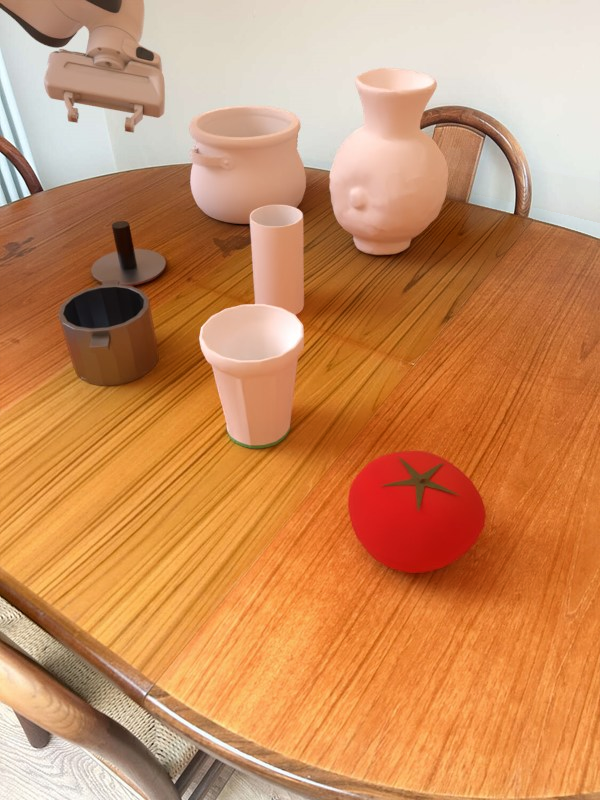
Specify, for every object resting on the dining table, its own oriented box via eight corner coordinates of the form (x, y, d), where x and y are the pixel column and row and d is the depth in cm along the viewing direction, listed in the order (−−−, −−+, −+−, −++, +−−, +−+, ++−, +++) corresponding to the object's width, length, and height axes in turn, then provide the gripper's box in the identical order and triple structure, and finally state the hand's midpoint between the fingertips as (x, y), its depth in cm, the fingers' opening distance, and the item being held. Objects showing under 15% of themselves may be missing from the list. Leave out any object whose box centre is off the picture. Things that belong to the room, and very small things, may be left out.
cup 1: (274, 288, 115) (271, 200, 105) (313, 302, 111) (313, 212, 101) (245, 308, 110) (238, 218, 100) (284, 324, 106) (281, 232, 96)
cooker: (66, 401, 92) (49, 346, 85) (82, 331, 105) (68, 278, 99) (156, 393, 93) (145, 338, 87) (160, 324, 106) (151, 272, 100)
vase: (412, 279, 117) (433, 101, 97) (309, 251, 125) (309, 82, 106) (452, 239, 129) (476, 73, 109) (355, 215, 137) (362, 58, 118)
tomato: (324, 553, 71) (325, 488, 64) (377, 479, 80) (383, 414, 73) (448, 614, 65) (463, 549, 59) (491, 527, 74) (509, 461, 67)
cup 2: (294, 391, 93) (292, 297, 83) (314, 451, 83) (315, 354, 74) (206, 404, 91) (194, 309, 81) (217, 467, 81) (204, 369, 72)
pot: (260, 174, 156) (256, 95, 145) (332, 204, 142) (333, 120, 131) (168, 205, 143) (155, 121, 131) (237, 242, 129) (230, 152, 117)
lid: (88, 292, 115) (76, 244, 109) (96, 256, 125) (85, 211, 119) (165, 286, 116) (157, 238, 110) (167, 251, 126) (160, 206, 120)
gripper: (47, 33, 111) (33, 100, 107) (169, 57, 115) (160, 123, 111) (53, 61, 117) (40, 126, 113) (169, 83, 121) (160, 146, 117)
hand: (100, 124), depth 112 cm, fingers open, 8 cm apart
